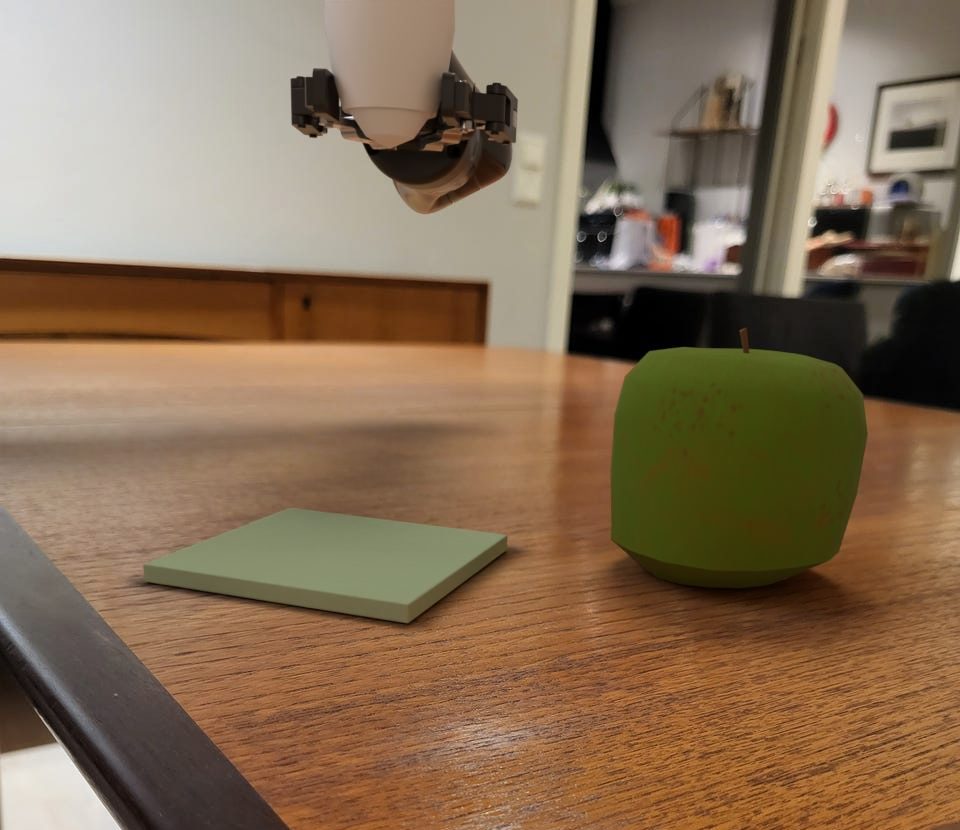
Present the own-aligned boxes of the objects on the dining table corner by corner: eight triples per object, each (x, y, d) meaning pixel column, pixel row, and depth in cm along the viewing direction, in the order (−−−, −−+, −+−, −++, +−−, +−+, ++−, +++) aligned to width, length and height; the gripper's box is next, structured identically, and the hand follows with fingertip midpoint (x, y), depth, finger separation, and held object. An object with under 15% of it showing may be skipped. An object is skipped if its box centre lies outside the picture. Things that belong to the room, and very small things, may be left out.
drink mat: (143, 582, 42) (142, 563, 41) (289, 522, 52) (289, 507, 52) (408, 624, 38) (408, 604, 38) (507, 550, 49) (508, 534, 48)
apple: (810, 627, 39) (857, 340, 36) (562, 579, 44) (580, 322, 40) (860, 565, 49) (901, 331, 45) (649, 531, 53) (671, 317, 50)
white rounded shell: (332, 313, 56) (327, -130, 49) (323, 307, 63) (318, -85, 56) (458, 317, 58) (471, -112, 51) (437, 310, 65) (446, -70, 57)
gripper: (321, 66, 69) (250, 8, 53) (529, 73, 68) (519, 15, 52) (323, 186, 72) (255, 163, 56) (523, 194, 71) (512, 173, 55)
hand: (383, 92), depth 54 cm, fingers closed on white rounded shell, 6 cm apart
